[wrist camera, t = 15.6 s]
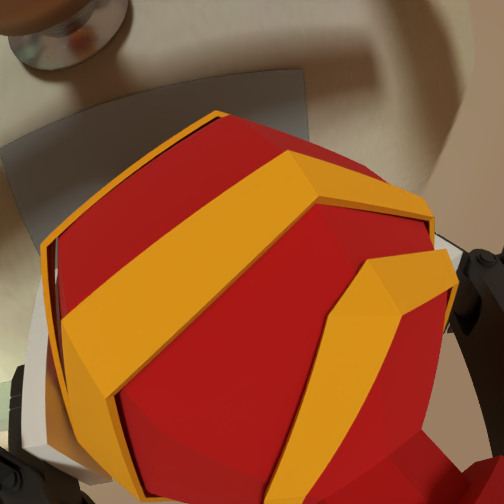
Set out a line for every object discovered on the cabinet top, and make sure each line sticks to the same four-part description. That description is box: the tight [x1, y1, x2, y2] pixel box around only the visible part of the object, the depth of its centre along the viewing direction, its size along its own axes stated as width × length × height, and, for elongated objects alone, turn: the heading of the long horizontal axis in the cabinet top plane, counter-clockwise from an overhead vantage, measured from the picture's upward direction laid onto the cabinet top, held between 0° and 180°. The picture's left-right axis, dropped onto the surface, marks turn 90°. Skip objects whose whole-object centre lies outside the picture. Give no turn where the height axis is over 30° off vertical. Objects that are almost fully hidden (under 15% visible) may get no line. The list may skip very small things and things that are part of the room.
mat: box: [0, 69, 309, 269], centre depth 13 cm, size 14×12×1 cm
